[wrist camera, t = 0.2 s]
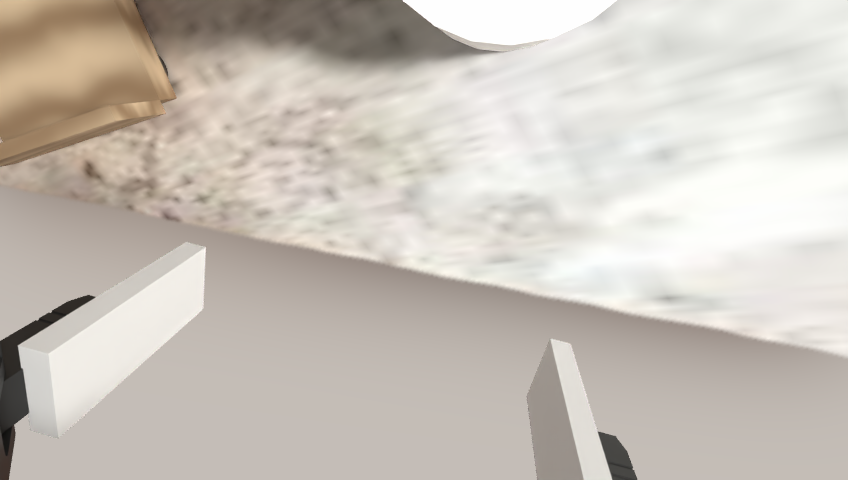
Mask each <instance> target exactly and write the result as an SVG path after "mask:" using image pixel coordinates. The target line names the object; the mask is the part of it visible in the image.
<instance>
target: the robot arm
mask: <svg viewBox="0 0 848 480" xmlns="http://www.w3.org/2000/svg"><path fill="white" fill-rule="evenodd" d="M205 254H206V247H204V246H200V245H196V244H192V243H189V242H185V243H184V244H182V245H180V246H179V247H177V248H175V249H174V250H172V251H170V252H169V253H167V254H166V255H164V256H162V257H161V258H159V259H157V260H156V261H154V262H153V263H151V264H149V265H148V266H146V267H144V268H143V269H141V270H140V271H138V272H136V273H135V274H133V275H131V276H130V277H128V278H127V279H125V280H123V281H122V282H120V283H119V284H117V285H115V286H114V287H112V288H111V289H109V290H107V291H105V292H104V293H102V294H101V295H99V296H97V297H93V296H90V295H87V296H83V297H80V298H77V299H74V300H71V301H68V302H66V303H64V304H63V305H61V306H59V307H58V308H56V309H54V310H52V312H51V313H47V314H46V315H44V316H42V317H41V318H39V320H38V321H36V320H35V321H34V322H32V323H30V324H29V325H27V326H25V327H24V328H22V329H20V330H18V331H17V332H15V333H13V334H11V335H10V336H8V337H6V338H5V339H3V340H1V341H0V480H9V474H10V467H11V461H12V454H13V448H14V441H15V428H14V424H15V423H17V422H18V421H19V420H21V419H22V418H23V417H24V416H26V415H27V414H28V417H29V423H30V430H31V431H34V432H38V433H41V434H45V435H48V436H52V437H55V438H59V437H61V436H62V435H63V434H64V433H65V432H66V431H67V430H68V429H69V428H71V426H73V425H74V424H75V423H76V422H77V421H78V420H80V419H81V418H82V417H83V416H84V415H85V414H86V413H87V412H88V411H89V410H91V409H92V408H93V407H94V406H95V405H96V404H97V403H98V402H100V401H101V400H102V399H103V398H104V397H105V396H106V395H108V394H109V393H110V392H111V391H112V390H113V389H114V388H115V387H116V386H118V385H119V384H120V383H121V382H122V381H123V380H124V379H125V378H127V377H128V376H129V375H130V374H131V373H132V372H133V371H134V370H136V369H137V368H138V367H139V366H140V365H141V364H142V363H143V362H144V361H146V360H147V359H148V358H149V357H150V356H151V355H152V354H153V353H155V352H156V351H157V350H158V349H159V348H160V347H161V346H162V345H163V344H165V343H166V342H167V341H168V340H169V339H170V338H171V337H172V336H174V335H175V334H176V333H177V332H178V331H179V330H180V329H181V328H183V327H184V326H185V325H186V324H187V323H188V322H189V321H190V320H191V319H193V318H194V317H195V316H196V315H197V314H198V313H199V312H200V311H201V310H203V301H204V278H205V256H206V255H205ZM527 403H528V411H529V419H530V426H531V434H532V442H533V450H534V458H535V466H536V473H537V480H637V477H636V475H635V472H634V470H633V469H632V468H633V466H632V464H631V461H630V458H629V455H628V453H627V451H626V450H625V448H624V447H623V446H622V444H621V443H620V442H619V440H618V439H617V438H616V436H612V435H609V434H605V433H601V432H598V431H597V428H596V425H595V422H594V419H593V415H592V412H591V409H590V405H589V402H588V399H587V395H586V392H585V389H584V386H583V382H582V379H581V376H580V373H579V369H578V366H577V363H576V360H575V356H574V353H573V350H572V347H571V344H569V343H566V342H562V341H558V340H554V339H550V340H549V342H548V345H547V348H546V350H545V352H544V355H543V357H542V360H541V362H540V365H539V367H538V369H537V372H536V374H535V377H534V379H533V382H532V384H531V387H530V390H529V392H528V394H527Z"/></svg>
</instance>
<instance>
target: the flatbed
mask: <svg viewBox="0 0 848 480" xmlns="http://www.w3.org/2000/svg"><path fill="white" fill-rule="evenodd" d="M173 99H176V95H175V93H174V91H173V89H172V86H171V84H170V82H169V80H168V72H167V68H166V66H165V64H164V62H163V60H162V59H161V58H160V57H159V56H158V55H157V52H156V50H155V48H154V46H153V43H152V41H151V39H150V37H149V34H148V32H147V30H146V28H145V25H144V23H143V21H142V19H141V16H140V14H139V12H138V10H137V7H136V5H135V3H134V1H133V0H0V137H1V139H2V141H3V143H0V167H1V166H6V165H10V164H15V163H18V162H21V161H24V160H27V159H30V158H33V157H36V156H39V155H42V154H45V153H48V152H51V151H54V150H57V149H60V148H63V147H66V146H69V145H72V144H75V143H78V142H81V141H84V140H87V139H90V138H93V137H96V136H99V135H102V134H105V133H108V132H111V131H114V130H117V129H120V128H123V127H126V126H129V125H132V124H135V123H139V122H142V121H145V120H148V119H151V118H154V117H157V116H160V115H163V114H166V112H165V110H164V108H163V106H162V104H161V103H164V102H167V101H170V100H173Z"/></svg>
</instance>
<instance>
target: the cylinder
mask: <svg viewBox="0 0 848 480" xmlns="http://www.w3.org/2000/svg"><path fill="white" fill-rule="evenodd" d="M403 1H404V2H405V3H406V4H408V5H409V6H410V7H412V8H413V9H414V10H415V11H417V12H418V13H419V14H420V15H422V16H423V17H424V18H425V19H427V20H428V21H429V22H430V23H432V24H433V25H434V26H435V27H437V28H438V29H440V30H441V31H442V32H444V33H445V34H446V35H448V36H449V37H451V38H452V39H454V40H456V41H459V42H461V43H464V44H466V45H468V46H471V47H473V48H476V49H481V50H491V51H500V52H506V51H511V50H517V49H523V48H529V47H532V46H535V45H537V44H539V43H542V42H544V41H547V40H549V39H551V38H554V37H556V36H558V35H560V34H562V33H564V32H567V31H569V30H571V29H573V28H575V27H577V26H579V25H582V24H584V23H586V22H588V21H590V20H592V19H594V18H595V17H596V16H598V15H599V14H600V13H601V12H603V11H604V10H605V9H606V8H608V7H609V6H610V5H611V4H613V3H614V2H615V1H616V0H403Z"/></svg>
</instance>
